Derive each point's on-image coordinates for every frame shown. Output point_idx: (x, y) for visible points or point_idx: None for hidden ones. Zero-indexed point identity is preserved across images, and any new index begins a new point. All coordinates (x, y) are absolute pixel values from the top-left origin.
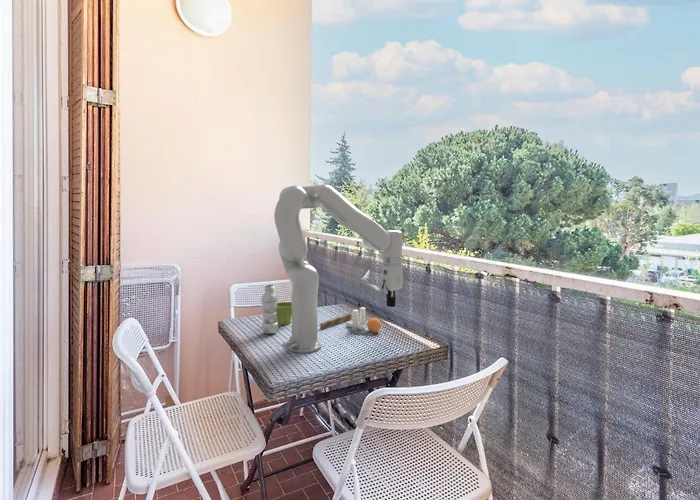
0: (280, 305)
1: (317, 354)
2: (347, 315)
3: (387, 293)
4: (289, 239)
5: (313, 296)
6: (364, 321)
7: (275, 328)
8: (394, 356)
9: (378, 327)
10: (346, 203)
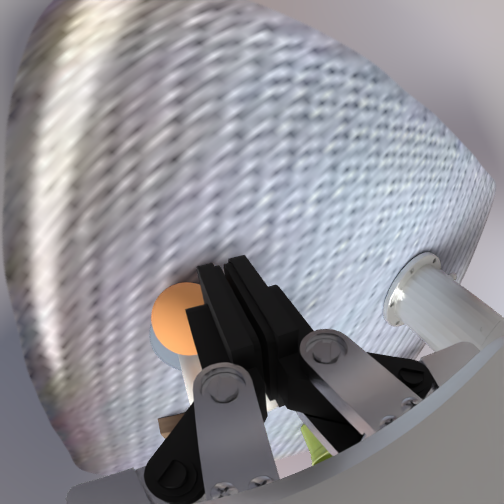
0: (321, 458)
1: (431, 234)
2: None
3: (434, 360)
4: None
5: None
6: (192, 366)
7: None
8: (346, 49)
9: (191, 286)
10: None
